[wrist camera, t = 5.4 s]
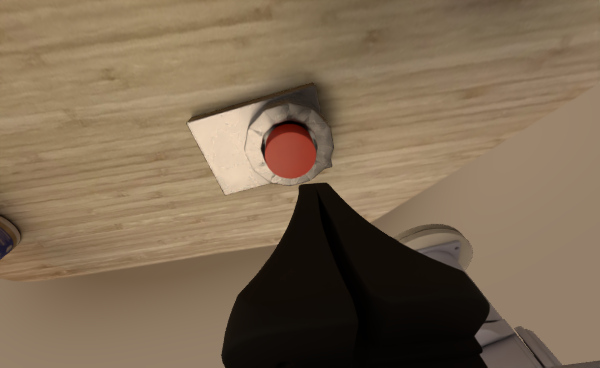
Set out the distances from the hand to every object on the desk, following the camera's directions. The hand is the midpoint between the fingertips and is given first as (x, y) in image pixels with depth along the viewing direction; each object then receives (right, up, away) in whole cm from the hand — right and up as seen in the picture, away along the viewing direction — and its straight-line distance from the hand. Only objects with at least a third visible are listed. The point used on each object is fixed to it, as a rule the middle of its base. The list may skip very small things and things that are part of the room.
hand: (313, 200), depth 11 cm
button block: (-4, +5, +9) cm, 11 cm away
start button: (-1, +4, +7) cm, 8 cm away
